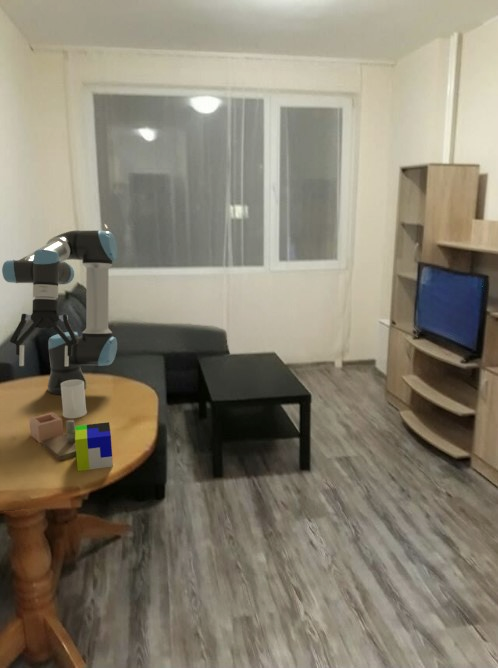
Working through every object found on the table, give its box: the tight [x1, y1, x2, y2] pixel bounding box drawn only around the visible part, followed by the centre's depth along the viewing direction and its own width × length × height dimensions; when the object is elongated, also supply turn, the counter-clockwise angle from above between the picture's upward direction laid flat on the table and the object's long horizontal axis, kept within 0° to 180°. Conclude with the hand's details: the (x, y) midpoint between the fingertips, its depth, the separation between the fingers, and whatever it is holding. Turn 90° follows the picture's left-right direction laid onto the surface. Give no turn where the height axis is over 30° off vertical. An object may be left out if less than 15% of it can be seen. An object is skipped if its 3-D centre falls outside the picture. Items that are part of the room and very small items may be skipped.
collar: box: [28, 411, 64, 444], centre depth 182 cm, size 8×8×6 cm
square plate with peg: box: [41, 419, 77, 462], centre depth 174 cm, size 14×14×8 cm
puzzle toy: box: [75, 422, 114, 472], centre depth 165 cm, size 10×10×10 cm
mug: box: [60, 380, 88, 419], centre depth 198 cm, size 12×8×12 cm
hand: (44, 366), depth 173 cm, fingers open, 13 cm apart
